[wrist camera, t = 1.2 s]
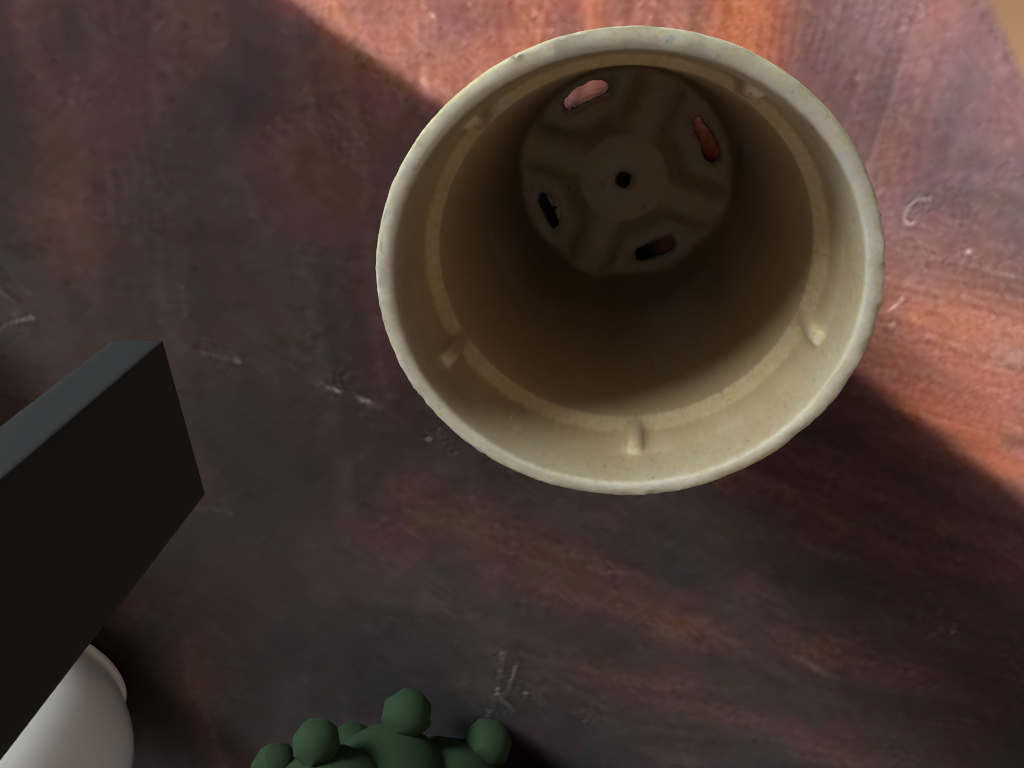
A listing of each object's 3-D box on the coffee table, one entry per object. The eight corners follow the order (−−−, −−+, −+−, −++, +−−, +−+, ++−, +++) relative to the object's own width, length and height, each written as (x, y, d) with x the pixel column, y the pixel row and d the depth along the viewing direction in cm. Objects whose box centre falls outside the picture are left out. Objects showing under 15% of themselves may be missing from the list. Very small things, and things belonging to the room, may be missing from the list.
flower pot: (629, 380, 25) (631, 565, 18) (396, 194, 23) (287, 316, 16) (869, 159, 21) (1003, 282, 13) (610, -96, 19) (599, -117, 11)
